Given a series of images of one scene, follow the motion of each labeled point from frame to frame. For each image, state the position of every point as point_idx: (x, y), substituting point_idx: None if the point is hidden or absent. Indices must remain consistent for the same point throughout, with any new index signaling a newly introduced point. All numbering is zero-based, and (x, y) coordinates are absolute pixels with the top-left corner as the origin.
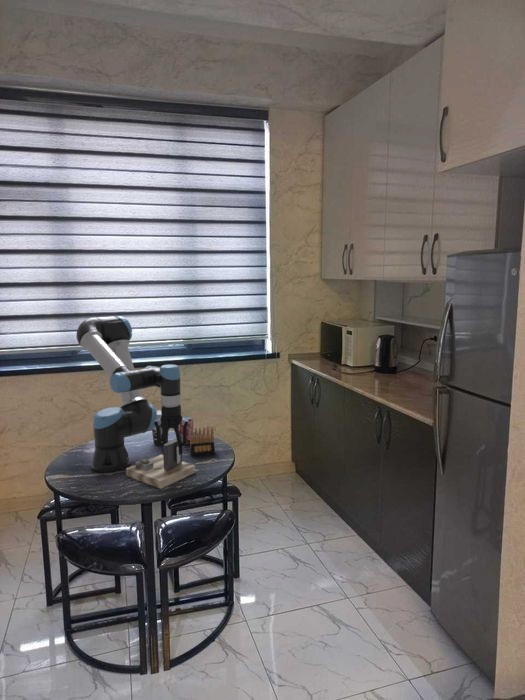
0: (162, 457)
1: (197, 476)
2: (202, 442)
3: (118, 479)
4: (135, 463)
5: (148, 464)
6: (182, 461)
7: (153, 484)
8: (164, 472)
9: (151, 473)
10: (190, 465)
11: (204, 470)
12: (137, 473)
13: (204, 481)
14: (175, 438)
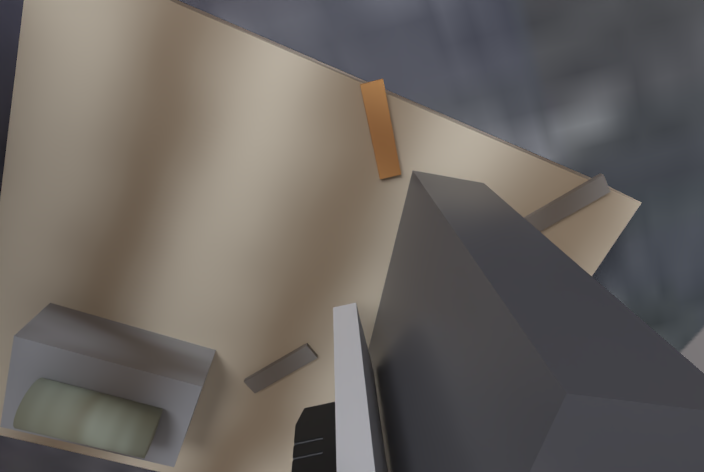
0: (134, 57)
1: (629, 248)
2: None
3: (19, 440)
4: (13, 418)
5: (184, 436)
6: (464, 127)
7: None
8: None
9: (278, 454)
10: (590, 215)
11: (681, 104)
12: (150, 462)
13: (699, 316)
14: (547, 454)
